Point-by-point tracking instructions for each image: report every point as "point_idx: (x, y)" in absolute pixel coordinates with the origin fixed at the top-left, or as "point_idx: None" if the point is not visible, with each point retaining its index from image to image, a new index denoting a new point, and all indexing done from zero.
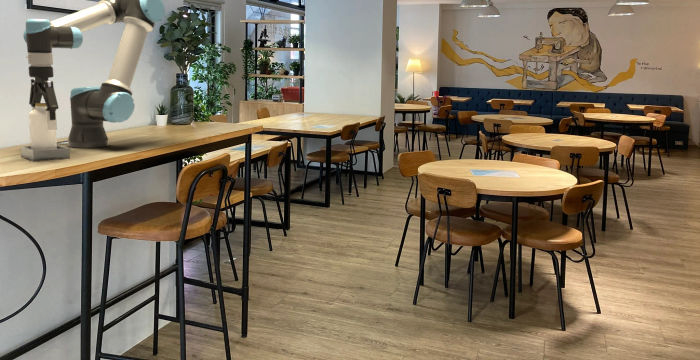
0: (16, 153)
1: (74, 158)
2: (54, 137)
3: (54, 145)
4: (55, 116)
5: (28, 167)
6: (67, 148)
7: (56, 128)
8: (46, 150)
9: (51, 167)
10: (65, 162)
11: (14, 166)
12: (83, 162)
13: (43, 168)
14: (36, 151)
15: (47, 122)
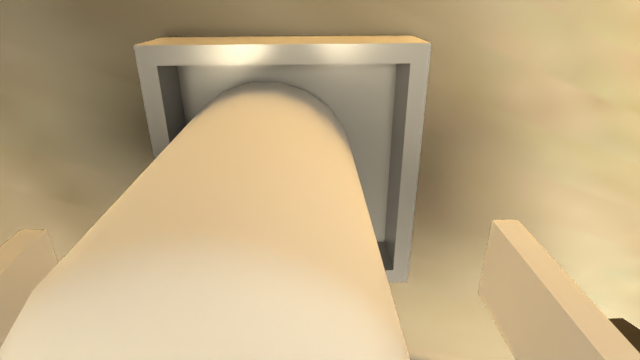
0: (51, 236)
1: (427, 4)
2: (342, 154)
3: (340, 135)
4: (622, 344)
5: None
6: (419, 54)
7: (523, 230)
8: (413, 208)
9: (627, 231)
10: (538, 118)
11: (479, 342)
12: (620, 20)
13: (622, 267)
14: (408, 263)
15: (514, 355)
